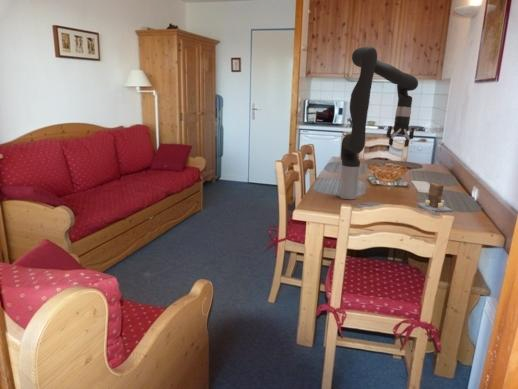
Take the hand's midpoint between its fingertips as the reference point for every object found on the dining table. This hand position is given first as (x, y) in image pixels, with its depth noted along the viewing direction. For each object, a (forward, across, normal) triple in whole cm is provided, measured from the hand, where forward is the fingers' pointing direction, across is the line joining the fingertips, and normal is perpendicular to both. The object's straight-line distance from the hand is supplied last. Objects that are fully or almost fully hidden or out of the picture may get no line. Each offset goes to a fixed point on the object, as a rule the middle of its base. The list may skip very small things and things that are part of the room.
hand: (398, 146), depth 217 cm
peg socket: (+28, +11, -25) cm, 39 cm away
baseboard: (+26, +29, +16) cm, 42 cm away
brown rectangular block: (+26, +11, -24) cm, 38 cm away
